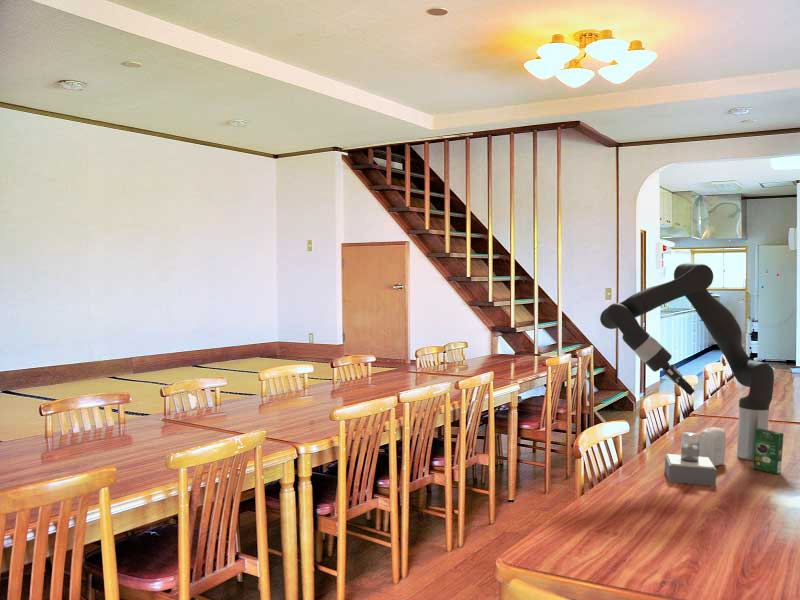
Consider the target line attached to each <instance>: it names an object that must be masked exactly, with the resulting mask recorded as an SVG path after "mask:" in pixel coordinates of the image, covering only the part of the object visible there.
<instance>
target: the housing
mask: <svg viewBox="0 0 800 600" xmlns="http://www.w3.org/2000/svg"><path fill="white" fill-rule="evenodd" d="M699 438H700V433H695V432H690V431H689V432H687V431H686V432H681V443H680V447H681V448H680V450H681V451H680V455H681V460H682V461H685V462H698V461H699Z"/></svg>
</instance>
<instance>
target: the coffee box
mask: <svg viewBox="0 0 800 600" xmlns="http://www.w3.org/2000/svg"><path fill="white" fill-rule="evenodd" d="M783 445H784V433H783V432H779V431H777V432H776V431H773V430H769V429H768V430H765V429H761V428H758V429H756V432H755V447H754V460H753V466H752V468H753V469H755V470H758V471H763V472H766V473H769V474H773V473H774V475H780V474H781V473H782V458H783V447H784V446H783ZM779 473H780V474H779Z"/></svg>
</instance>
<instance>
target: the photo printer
mask: <svg viewBox="0 0 800 600" xmlns="http://www.w3.org/2000/svg"><path fill="white" fill-rule="evenodd" d="M699 435H700V438H699V457H708V458H709V459H710V460H711V462H712V463H713V465H714V466H715V467H716V466H717V467H718V466H721V465H724V464H725V462H726V460H725V459H726V458H725V457H726V456H725V455H726V438H727V437H726V432H725V431H724V429H722V428H720V427H716V426H712V427H707V428H706V429H703V430H702V431H701V432H700V433H699Z"/></svg>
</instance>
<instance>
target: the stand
mask: <svg viewBox="0 0 800 600" xmlns="http://www.w3.org/2000/svg"><path fill="white" fill-rule="evenodd" d="M664 456H665V457H664V472H666V473H665V475H667V476H666V479H667V480H668V483H675V482H676V483H675V484H685V483H687V485H696V484H697V486H706V485H711V486H710V487H717V486H716V485H717V468H716V466H714V465H713V463H712V462H711V460H710V459H709V458H708V457H699V461H698V462H685V461H682V460H681V454H674V453H666V454H665V455H664Z"/></svg>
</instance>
